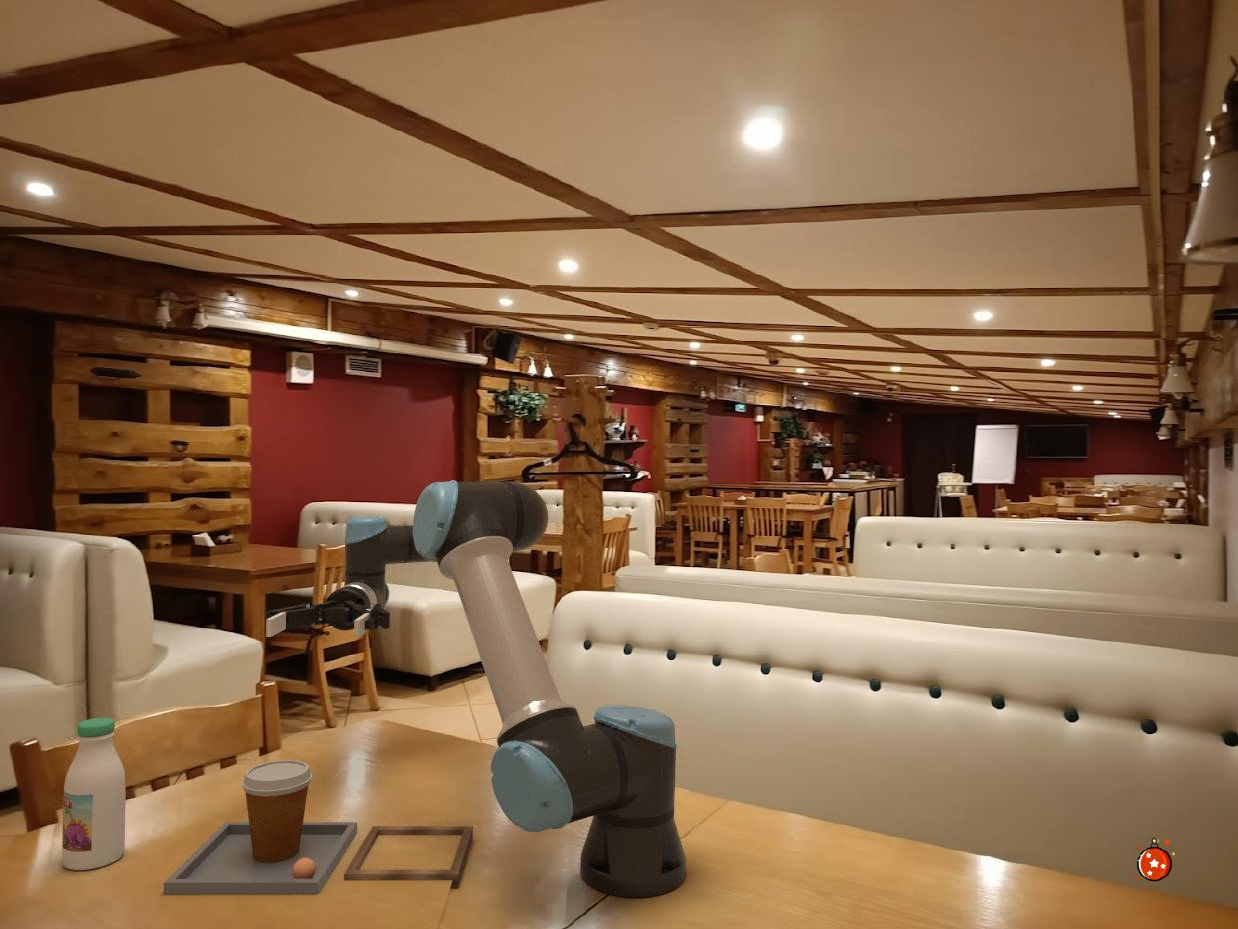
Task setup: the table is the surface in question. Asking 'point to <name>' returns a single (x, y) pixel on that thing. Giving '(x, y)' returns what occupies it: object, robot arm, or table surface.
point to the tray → (259, 862)
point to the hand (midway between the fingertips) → (312, 628)
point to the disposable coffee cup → (276, 807)
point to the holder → (451, 874)
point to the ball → (304, 869)
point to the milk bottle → (94, 800)
